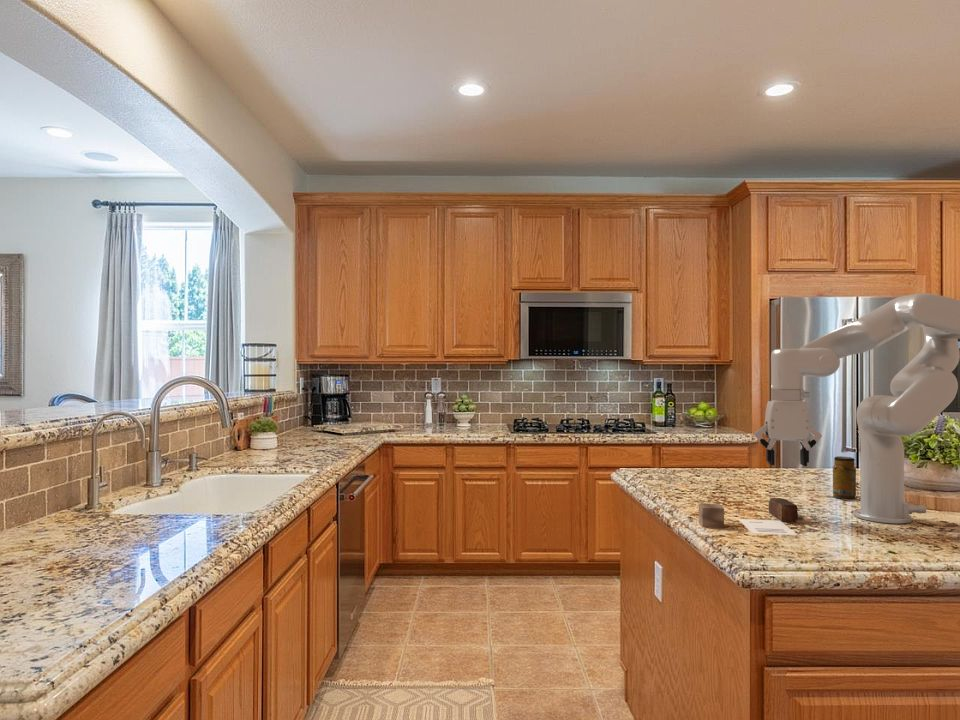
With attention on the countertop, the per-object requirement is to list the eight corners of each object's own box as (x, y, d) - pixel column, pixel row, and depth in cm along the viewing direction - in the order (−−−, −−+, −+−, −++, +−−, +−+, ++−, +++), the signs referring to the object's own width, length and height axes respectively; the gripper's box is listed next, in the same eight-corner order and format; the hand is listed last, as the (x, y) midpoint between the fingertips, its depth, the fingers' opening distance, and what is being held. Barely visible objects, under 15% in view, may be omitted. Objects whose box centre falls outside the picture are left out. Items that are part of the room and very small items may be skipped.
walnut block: (719, 524, 157) (719, 504, 158) (724, 529, 153) (724, 508, 153) (698, 523, 158) (698, 503, 158) (702, 528, 153) (702, 507, 153)
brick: (798, 524, 158) (798, 505, 158) (781, 523, 158) (781, 504, 158) (783, 514, 168) (783, 496, 168) (768, 513, 169) (768, 496, 169)
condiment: (845, 494, 194) (845, 455, 194) (868, 500, 185) (867, 459, 185) (825, 495, 192) (824, 456, 192) (847, 501, 184) (846, 460, 184)
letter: (779, 521, 160) (779, 520, 160) (797, 535, 146) (797, 534, 146) (738, 519, 162) (738, 518, 162) (751, 533, 148) (751, 532, 148)
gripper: (818, 395, 166) (818, 463, 166) (747, 395, 169) (748, 462, 169) (828, 397, 158) (829, 468, 158) (755, 396, 161) (755, 466, 161)
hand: (787, 464), depth 163 cm, fingers open, 7 cm apart
